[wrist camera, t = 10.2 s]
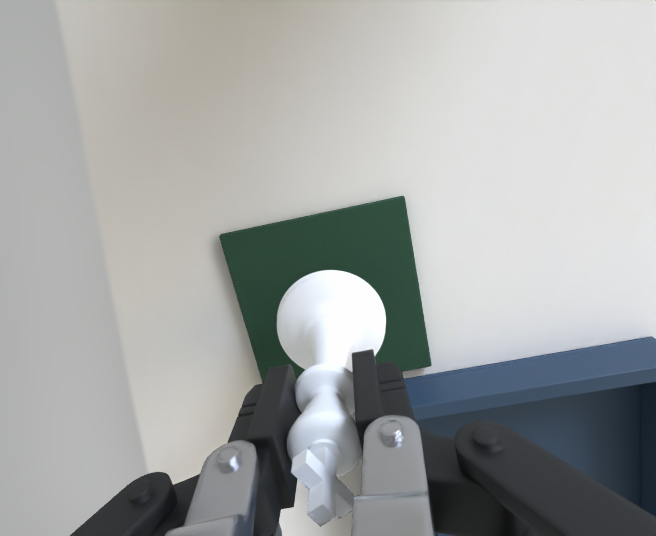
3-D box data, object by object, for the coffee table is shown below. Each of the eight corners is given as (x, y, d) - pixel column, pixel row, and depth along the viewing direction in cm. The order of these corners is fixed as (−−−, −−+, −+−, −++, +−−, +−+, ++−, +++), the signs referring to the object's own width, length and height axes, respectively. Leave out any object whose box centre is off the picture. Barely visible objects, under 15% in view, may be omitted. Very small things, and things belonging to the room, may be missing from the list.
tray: (353, 387, 22) (355, 416, 19) (652, 336, 20) (693, 360, 18) (399, 591, 26) (405, 636, 23) (649, 560, 25) (682, 605, 22)
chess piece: (325, 388, 19) (310, 630, 9) (254, 314, 18) (157, 500, 8) (407, 328, 18) (485, 530, 8) (338, 247, 17) (336, 370, 7)
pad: (221, 233, 19) (218, 235, 19) (403, 195, 19) (404, 196, 18) (267, 390, 22) (266, 395, 21) (430, 362, 21) (431, 366, 21)
